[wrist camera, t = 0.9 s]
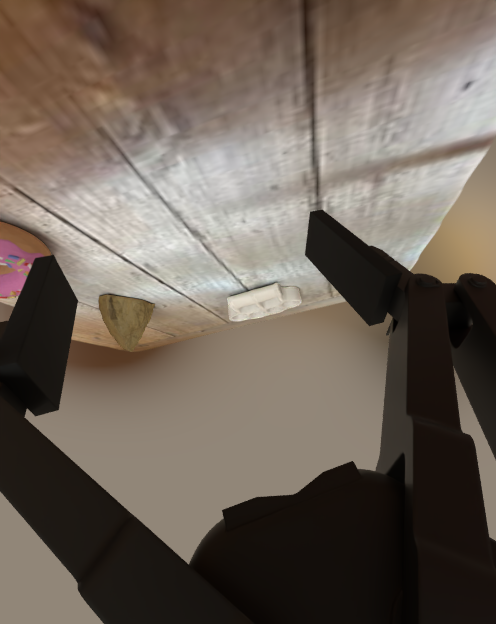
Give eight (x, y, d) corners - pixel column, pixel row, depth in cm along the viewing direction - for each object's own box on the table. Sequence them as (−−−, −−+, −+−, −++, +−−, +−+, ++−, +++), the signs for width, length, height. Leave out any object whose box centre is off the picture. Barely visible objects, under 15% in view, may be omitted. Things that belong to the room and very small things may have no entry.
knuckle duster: (291, 274, 61) (302, 295, 74) (213, 297, 66) (236, 313, 79) (294, 289, 60) (305, 307, 73) (215, 311, 65) (238, 325, 78)
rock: (79, 307, 54) (105, 329, 63) (106, 337, 51) (129, 355, 60) (127, 271, 57) (145, 296, 66) (155, 297, 54) (170, 319, 63)
